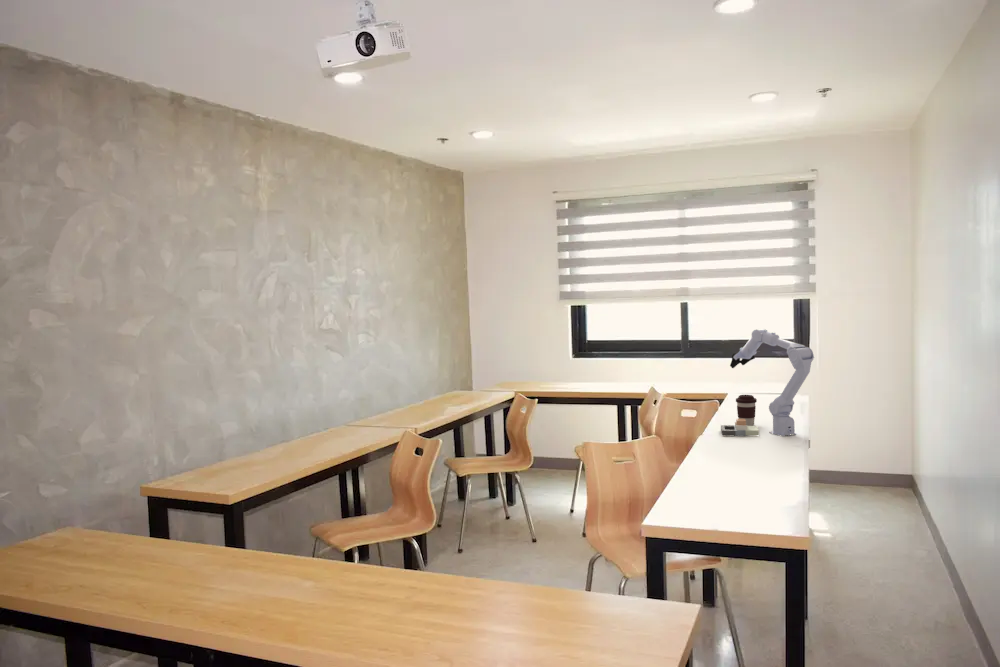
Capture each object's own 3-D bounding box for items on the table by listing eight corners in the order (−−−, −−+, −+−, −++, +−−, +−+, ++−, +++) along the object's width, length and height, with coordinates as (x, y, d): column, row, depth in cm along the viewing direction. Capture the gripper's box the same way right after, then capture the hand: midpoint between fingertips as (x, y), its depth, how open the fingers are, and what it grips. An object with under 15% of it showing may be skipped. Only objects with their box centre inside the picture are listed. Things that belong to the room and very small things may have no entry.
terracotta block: (745, 427, 354) (744, 418, 354) (745, 429, 349) (745, 420, 349) (736, 426, 355) (736, 418, 355) (737, 429, 350) (736, 420, 350)
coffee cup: (753, 427, 363) (752, 397, 362) (733, 426, 369) (732, 396, 368) (759, 424, 371) (759, 394, 370) (740, 422, 377) (739, 393, 376)
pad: (756, 430, 356) (756, 425, 356) (758, 435, 345) (758, 430, 345) (743, 430, 357) (743, 425, 357) (745, 435, 347) (745, 430, 346)
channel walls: (745, 426, 356) (745, 422, 356) (747, 430, 347) (747, 425, 347) (735, 426, 357) (734, 422, 357) (736, 429, 348) (736, 425, 348)
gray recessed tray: (743, 430, 358) (743, 425, 358) (745, 436, 346) (745, 430, 346) (720, 430, 361) (720, 425, 361) (722, 435, 348) (722, 430, 348)
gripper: (755, 339, 367) (741, 356, 377) (735, 344, 360) (722, 362, 369) (764, 349, 364) (750, 367, 373) (744, 354, 356) (730, 372, 366)
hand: (736, 365), depth 371 cm, fingers open, 7 cm apart
